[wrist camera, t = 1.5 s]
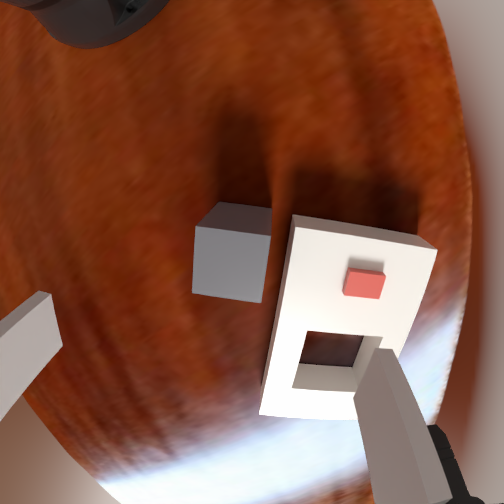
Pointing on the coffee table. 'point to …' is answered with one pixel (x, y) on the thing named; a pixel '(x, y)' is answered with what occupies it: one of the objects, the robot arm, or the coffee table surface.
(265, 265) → the plug
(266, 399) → the socket plate
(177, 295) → the coffee table surface
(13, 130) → the coffee table surface
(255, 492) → the coffee table surface
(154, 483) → the coffee table surface
